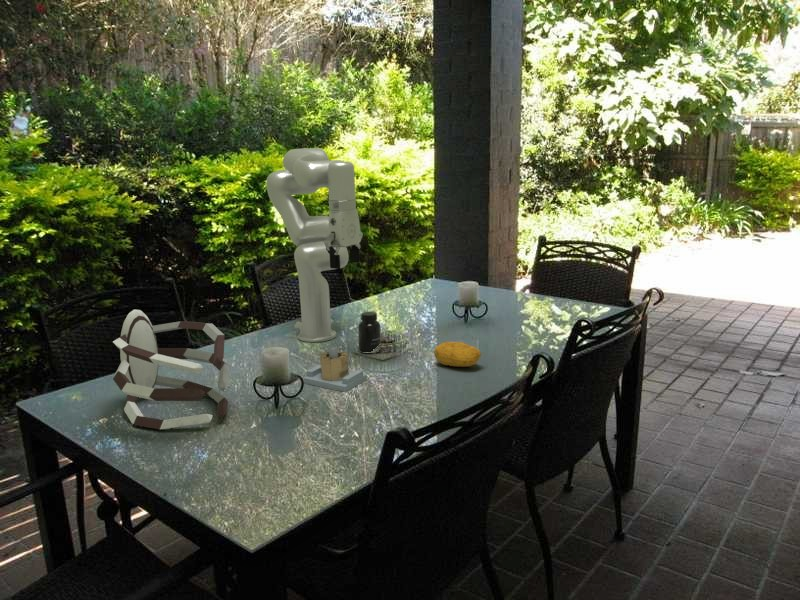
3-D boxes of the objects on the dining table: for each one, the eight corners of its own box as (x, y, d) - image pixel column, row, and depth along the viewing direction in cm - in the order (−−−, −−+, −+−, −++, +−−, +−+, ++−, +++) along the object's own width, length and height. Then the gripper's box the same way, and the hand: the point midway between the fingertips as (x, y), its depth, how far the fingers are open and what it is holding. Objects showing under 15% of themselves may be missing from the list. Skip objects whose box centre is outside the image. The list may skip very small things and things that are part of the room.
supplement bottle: (378, 354, 200) (376, 316, 197) (356, 354, 201) (354, 316, 198) (383, 347, 206) (382, 310, 203) (362, 347, 208) (360, 310, 205)
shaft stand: (303, 383, 179) (301, 349, 176) (326, 371, 187) (324, 339, 185) (345, 392, 172) (343, 357, 169) (366, 379, 180) (365, 346, 177)
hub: (316, 378, 178) (314, 357, 176) (332, 369, 184) (331, 349, 182) (337, 382, 174) (336, 361, 173) (353, 374, 180) (352, 353, 179)
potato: (443, 358, 195) (442, 336, 194) (484, 366, 188) (485, 343, 186) (429, 366, 189) (429, 343, 187) (472, 374, 182) (472, 351, 180)
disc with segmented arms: (178, 377, 184) (262, 414, 164) (85, 410, 164) (167, 458, 143) (171, 294, 177) (257, 322, 156) (72, 318, 157) (156, 355, 136)
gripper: (334, 209, 178) (337, 271, 182) (370, 203, 192) (372, 261, 196) (312, 209, 182) (316, 269, 186) (349, 202, 196) (352, 259, 200)
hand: (345, 265), depth 191 cm, fingers open, 9 cm apart
